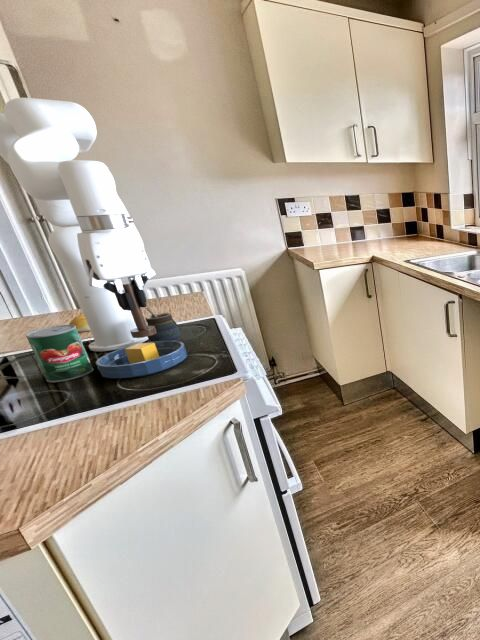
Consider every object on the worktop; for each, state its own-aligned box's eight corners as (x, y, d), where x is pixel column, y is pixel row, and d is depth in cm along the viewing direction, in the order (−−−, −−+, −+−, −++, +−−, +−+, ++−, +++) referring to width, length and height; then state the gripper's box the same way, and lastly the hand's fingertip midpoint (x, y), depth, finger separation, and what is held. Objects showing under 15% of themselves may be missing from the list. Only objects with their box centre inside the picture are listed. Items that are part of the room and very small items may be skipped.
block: (130, 364, 101) (124, 349, 100) (144, 357, 105) (138, 343, 103) (146, 364, 101) (140, 348, 100) (159, 357, 105) (154, 342, 103)
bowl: (85, 375, 97) (79, 361, 96) (161, 350, 111) (156, 337, 110) (129, 385, 92) (124, 370, 91) (203, 357, 106) (199, 344, 105)
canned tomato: (64, 383, 93) (43, 337, 89) (36, 381, 95) (14, 335, 91) (102, 368, 101) (84, 325, 97) (76, 367, 102) (57, 324, 98)
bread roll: (74, 334, 126) (69, 321, 124) (69, 328, 131) (64, 316, 129) (110, 326, 132) (106, 314, 130) (104, 321, 137) (100, 310, 135)
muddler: (127, 337, 96) (108, 285, 92) (149, 331, 100) (131, 281, 96) (140, 338, 95) (120, 286, 90) (161, 332, 98) (143, 282, 94)
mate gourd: (166, 348, 112) (153, 313, 108) (142, 347, 113) (129, 312, 110) (190, 339, 119) (179, 305, 115) (167, 338, 120) (156, 304, 116)
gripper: (135, 220, 97) (161, 298, 103) (44, 228, 83) (81, 317, 89) (156, 220, 94) (182, 300, 101) (66, 228, 80) (103, 320, 87)
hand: (134, 307), depth 95 cm, fingers closed on muddler
